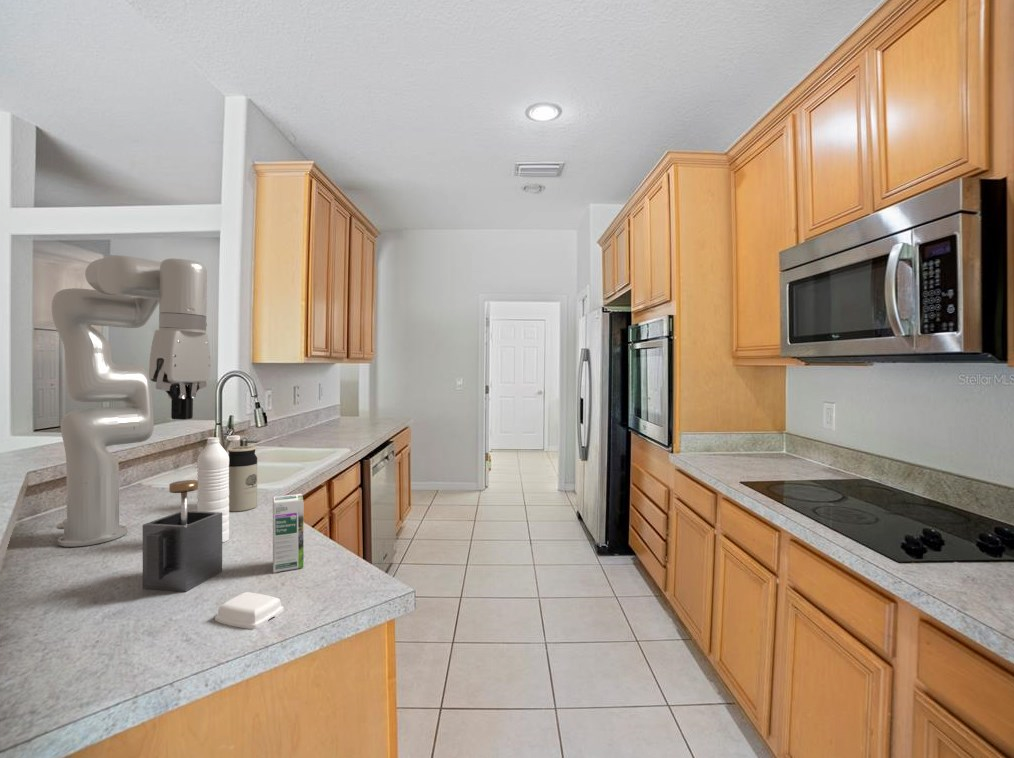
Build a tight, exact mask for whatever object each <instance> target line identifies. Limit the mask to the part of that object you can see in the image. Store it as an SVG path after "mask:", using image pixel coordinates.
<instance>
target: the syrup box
mask: <svg viewBox="0 0 1014 758" xmlns="http://www.w3.org/2000/svg"><path fill="white" fill-rule="evenodd" d="M304 541H305V540H304V497H303V494H302V493H297V494H287V495H277V496H273V497H272V572H273V574H276V573H279V572H287V571H292V570H297V569H303V568H304V563H305V561H304V558H305V556H304V553H305V552H304V546H305V545H304Z"/></svg>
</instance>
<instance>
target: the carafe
mask: <svg viewBox="0 0 1014 758" xmlns="http://www.w3.org/2000/svg"><path fill="white" fill-rule="evenodd" d="M222 572H223V542H222V513H220V512H201V511H197V510H187V525H186V526H185V525H181V510H180V511H178V512H175V513H172V514H168V515H167V516H163V517H161V518H158V519H154V520H151V521H149V522H146V523H144V524H142V589H143V590H156V591H158V590H159V591H170V592H181V593H182V592H183V593H187V592H189V591H191V590H192V589H194V588H196V587H197V586H199V585H201V584H203V583H204V582H206V581H209V580H210V579H211V578H213V577H215V576H217V575H218V574H220V573H222Z"/></svg>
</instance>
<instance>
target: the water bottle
mask: <svg viewBox="0 0 1014 758" xmlns="http://www.w3.org/2000/svg"><path fill="white" fill-rule="evenodd" d="M240 439H241V435H235V434H234V435H228V436H227V440H228V441H232V442H233V441H240ZM196 459H197V460H196V466H197V471H196V472H197V481H198V489H197V490H196V493H197V494H196V498H197V502H196V503H197V505H196V506H197V510H196V511H201V512H220V513H222V543H225V542H227V541H228V540H229V539H230V511H229V497H228V496H229V452H227V451H226V449H225V448H224V447H223V446H222V445H221V443H220V437H216V436H214V437H207V440H206V445H205V446H204V447H203V449H202V450H201V451H200V453H199V455H198V456H197V458H196Z"/></svg>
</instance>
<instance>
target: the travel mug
mask: <svg viewBox="0 0 1014 758" xmlns="http://www.w3.org/2000/svg"><path fill="white" fill-rule="evenodd" d="M256 450H257V447H256V446H253V445H242V446H233V447H229V448H227V451H228V455H229V496H228V497H229V512H234V513H235V512H236V513H238V512H247V511H250V510H253V509H255V508H256V507H257V506H258V457H257V454H256Z"/></svg>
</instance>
